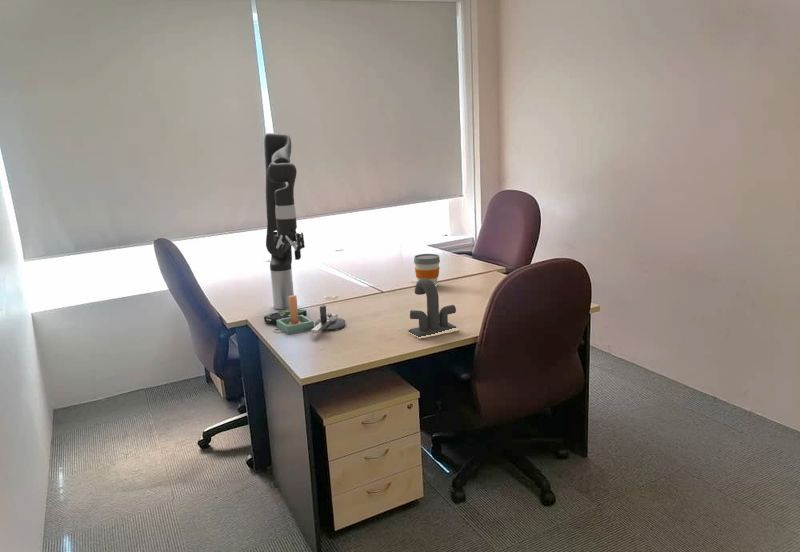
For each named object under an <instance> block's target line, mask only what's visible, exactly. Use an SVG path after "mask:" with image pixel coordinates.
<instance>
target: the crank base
mask: <svg viewBox="0 0 800 552" xmlns="http://www.w3.org/2000/svg"><path fill="white" fill-rule="evenodd" d="M319 323H321V319H318V320H317V321H315V322H314V327H316V326H317V325H318V324H319ZM346 324H347V323H346V320H345V319H343V318H341V317H340V318H339V317H338V318H336V322H335V323H332V324H329V325H328V326H327V327H325V328H324V329H323V330H322V331H321V332H332V331H333V332H334V331H339V330H341V329H344V328H345V327H346Z"/></svg>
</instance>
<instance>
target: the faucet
mask: <svg viewBox="0 0 800 552" xmlns="http://www.w3.org/2000/svg"><path fill="white" fill-rule="evenodd" d="M414 294H415V295H418V296H419V295H422V296H423V295H425V297H426V313H425V312H424V311H422V310H418V309H417V310H414V309H411V310H410V311H409V319H410V320H418V327H413V328H410V329H408V330H407V332H410V333H412V334H414V335H416V336H418V337H421V336H426V335H431V334H435V333H438V332H442V331H445V330H449V329H452V328H456V327H457V326H456V325H454V324H452V323H450V322H449V321H448V320H449V319H448V317H449V315H452V314H455V313H456V312H457V308H456V306H455V305H454V304H450V305H445V306H443V307H441V309H440V306H439V305H440V304H439V303H440V302H439V291H438V289H437V287H436V286H435V284H434V283H433V282H432V281H431V280H430V279H427V278H423V279H420V280H419V281H418V280H417V282H416V284H415V287H414Z"/></svg>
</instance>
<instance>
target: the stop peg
mask: <svg viewBox="0 0 800 552" xmlns="http://www.w3.org/2000/svg"><path fill="white" fill-rule="evenodd" d="M297 298H298V297H297V295H295V294H294V295H291V296H289V305H290V317H291V322H290V323H289V326H290V325H295V324H299V323H301V322H299V320H298V309H299V308H298V299H297Z"/></svg>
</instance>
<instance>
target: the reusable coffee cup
mask: <svg viewBox="0 0 800 552" xmlns="http://www.w3.org/2000/svg"><path fill="white" fill-rule="evenodd" d="M413 257H414V259H413V263H414V265H415V266H414V273H415V278H416V279H417V282H418V281H419V280H420V279H423V278H427V279H430V280H431V281H432V282H433V283H434V284H435V285H436V284H437V285H438V278H439V275H440V262H441V259H440V255H439V254H434V253H421V254H416V255H414V256H413Z"/></svg>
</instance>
